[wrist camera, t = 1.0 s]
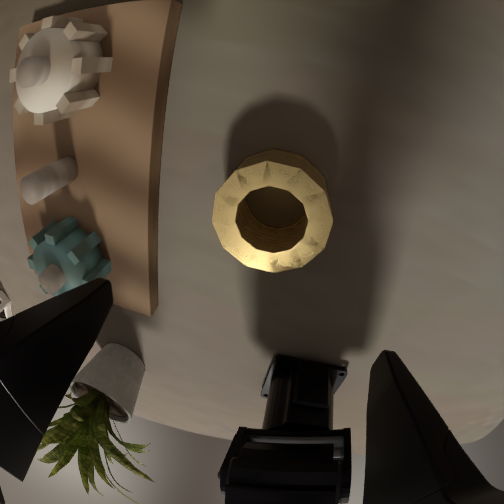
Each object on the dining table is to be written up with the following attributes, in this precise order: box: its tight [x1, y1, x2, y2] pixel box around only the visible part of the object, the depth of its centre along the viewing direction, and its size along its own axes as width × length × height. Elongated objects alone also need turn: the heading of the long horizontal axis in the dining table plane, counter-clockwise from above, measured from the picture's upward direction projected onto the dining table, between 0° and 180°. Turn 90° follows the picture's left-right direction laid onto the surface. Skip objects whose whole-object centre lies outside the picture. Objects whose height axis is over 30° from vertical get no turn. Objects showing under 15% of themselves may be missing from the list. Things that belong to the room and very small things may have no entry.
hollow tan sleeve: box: [212, 149, 333, 273], centre depth 17 cm, size 6×6×3 cm
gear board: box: [9, 0, 182, 317], centre depth 17 cm, size 22×13×6 cm, turn 170°
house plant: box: [37, 343, 152, 502], centre depth 24 cm, size 14×14×16 cm
